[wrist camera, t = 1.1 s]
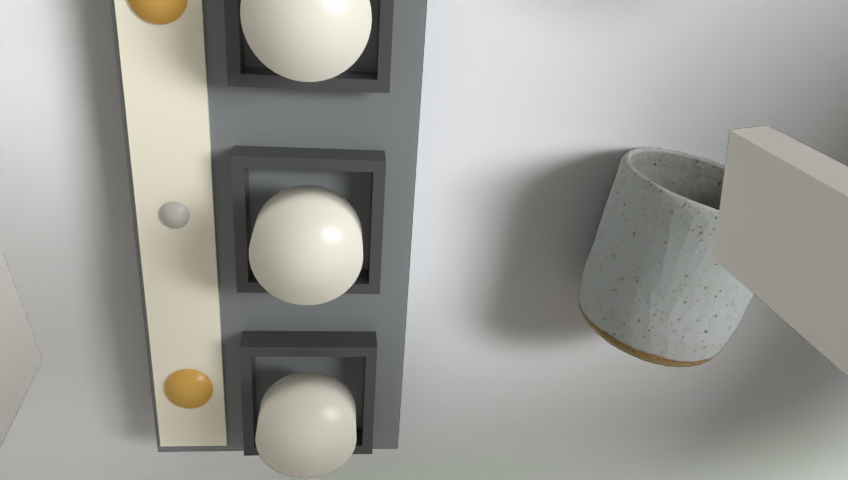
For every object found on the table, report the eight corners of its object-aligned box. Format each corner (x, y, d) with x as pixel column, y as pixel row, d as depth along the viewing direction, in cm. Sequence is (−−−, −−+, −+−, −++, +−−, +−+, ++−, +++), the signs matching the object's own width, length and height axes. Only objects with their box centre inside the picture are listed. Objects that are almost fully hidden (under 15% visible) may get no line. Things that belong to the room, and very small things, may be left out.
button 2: (357, 371, 34) (357, 398, 32) (354, 447, 35) (355, 477, 34) (258, 371, 33) (253, 399, 31) (261, 448, 35) (256, 479, 33)
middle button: (363, 186, 30) (365, 205, 28) (360, 282, 32) (361, 305, 30) (252, 183, 29) (246, 202, 27) (255, 281, 31) (250, 304, 29)
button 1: (371, -52, 26) (374, -49, 24) (367, 72, 28) (369, 84, 26) (245, -61, 26) (237, -58, 24) (249, 67, 27) (242, 78, 26)
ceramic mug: (552, 286, 38) (602, 374, 31) (599, 135, 35) (666, 196, 28) (736, 310, 40) (820, 398, 33) (797, 170, 37) (905, 235, 30)
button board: (427, -104, 30) (438, -104, 26) (394, 417, 40) (399, 467, 37) (116, -127, 28) (83, -130, 25) (168, 419, 39) (151, 471, 36)
